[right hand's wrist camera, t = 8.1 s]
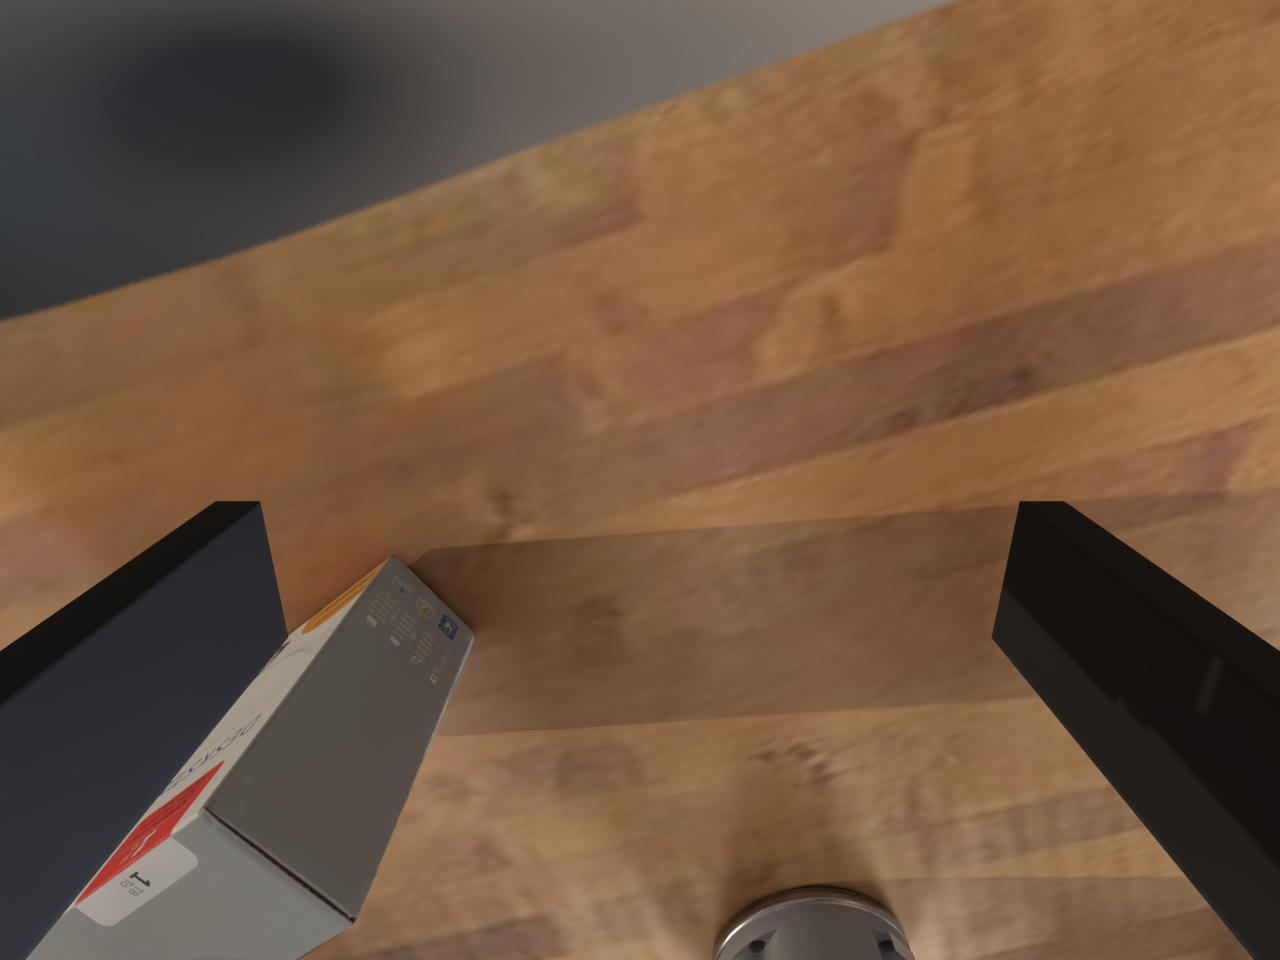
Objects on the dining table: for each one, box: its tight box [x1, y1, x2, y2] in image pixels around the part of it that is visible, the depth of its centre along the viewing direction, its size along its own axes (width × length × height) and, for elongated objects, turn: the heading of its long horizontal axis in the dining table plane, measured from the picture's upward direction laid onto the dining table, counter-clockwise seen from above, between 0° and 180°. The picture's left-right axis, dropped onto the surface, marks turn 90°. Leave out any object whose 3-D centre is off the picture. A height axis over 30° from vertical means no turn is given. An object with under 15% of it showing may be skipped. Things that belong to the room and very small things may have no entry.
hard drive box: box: [26, 556, 475, 960], centre depth 37 cm, size 16×8×20 cm, turn 128°
